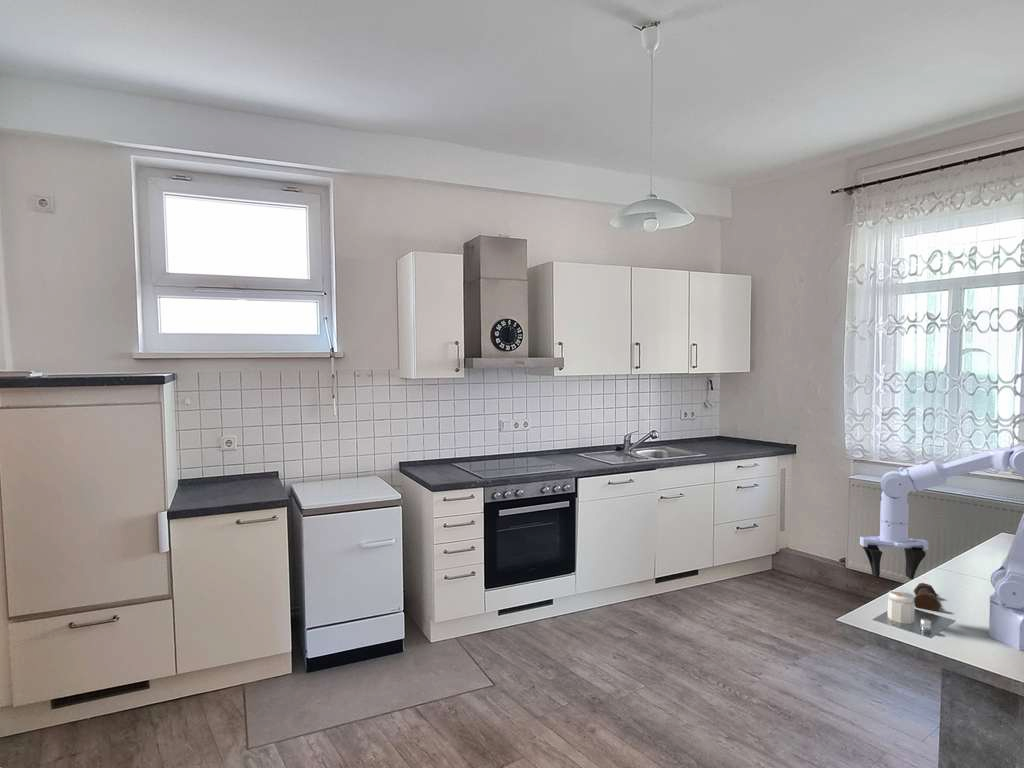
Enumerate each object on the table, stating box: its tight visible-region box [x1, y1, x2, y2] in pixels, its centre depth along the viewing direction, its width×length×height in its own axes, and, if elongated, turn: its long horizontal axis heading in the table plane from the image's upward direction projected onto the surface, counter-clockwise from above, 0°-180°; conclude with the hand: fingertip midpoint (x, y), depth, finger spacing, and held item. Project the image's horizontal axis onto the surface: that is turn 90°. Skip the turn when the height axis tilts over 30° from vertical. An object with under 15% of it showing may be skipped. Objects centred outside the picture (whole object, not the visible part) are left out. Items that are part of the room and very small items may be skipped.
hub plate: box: [871, 608, 957, 639], centre depth 139 cm, size 16×12×4 cm
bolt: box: [913, 582, 942, 612], centre depth 152 cm, size 6×5×15 cm
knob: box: [887, 589, 916, 624], centre depth 139 cm, size 5×5×6 cm
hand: (892, 576), depth 142 cm, fingers open, 7 cm apart
